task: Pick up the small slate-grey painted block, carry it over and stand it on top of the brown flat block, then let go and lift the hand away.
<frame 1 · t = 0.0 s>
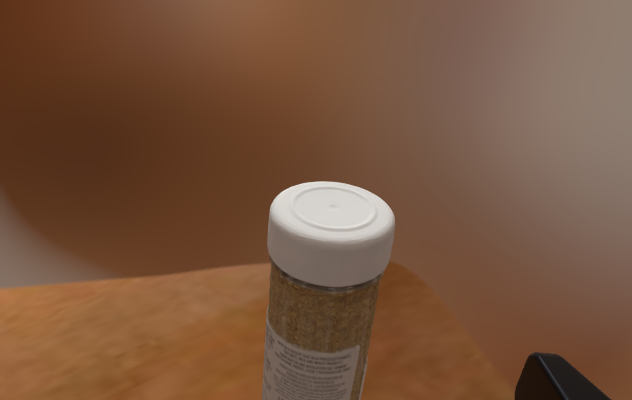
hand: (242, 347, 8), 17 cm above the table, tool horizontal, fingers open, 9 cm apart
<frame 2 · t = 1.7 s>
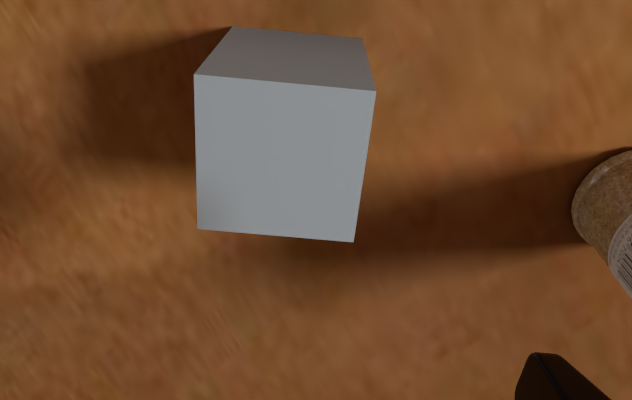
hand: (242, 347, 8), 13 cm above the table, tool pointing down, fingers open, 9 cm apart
sprinkles bottle: (623, 193, 21), on the table
grey block: (293, 95, 19), on the table
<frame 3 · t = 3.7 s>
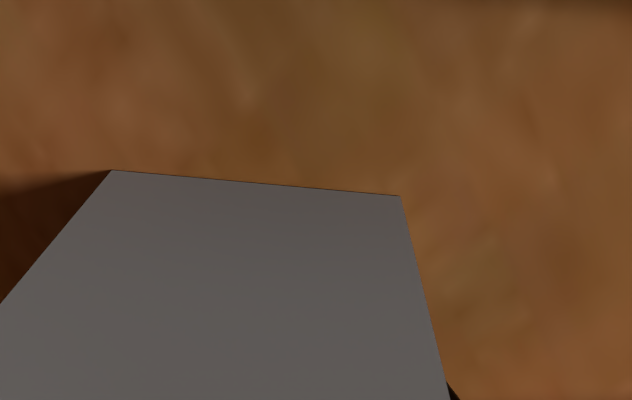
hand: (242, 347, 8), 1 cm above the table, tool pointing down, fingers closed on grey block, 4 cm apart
grey block: (252, 295, 9), on the table, touching gripper
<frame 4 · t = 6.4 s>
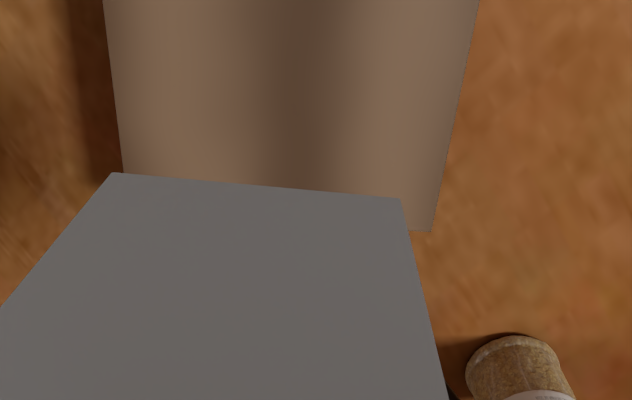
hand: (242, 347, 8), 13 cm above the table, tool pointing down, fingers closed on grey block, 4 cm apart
brown flat block: (291, 63, 19), on the table
sprinkles bottle: (507, 361, 26), on the table
grey block: (252, 297, 9), point 11 cm above the table, touching gripper
when the fingers open (5 cm above the table, at t = 9.0 s): grey block drops 2 cm, resting on brown flat block.
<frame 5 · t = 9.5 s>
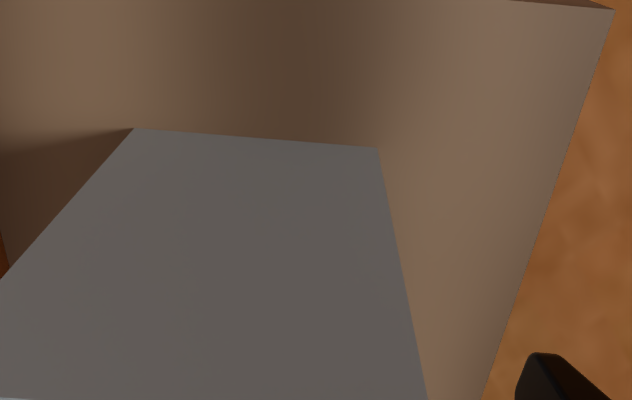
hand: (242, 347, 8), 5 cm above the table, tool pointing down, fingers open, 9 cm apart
brown flat block: (278, 174, 13), on the table, touching grey block
grey block: (253, 238, 11), point 2 cm above the table, touching brown flat block
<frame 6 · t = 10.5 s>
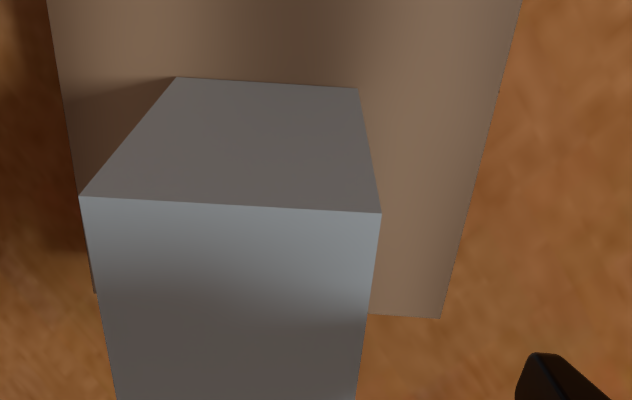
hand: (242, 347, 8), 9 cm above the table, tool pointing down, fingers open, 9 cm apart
brown flat block: (282, 124, 17), on the table
grey block: (266, 164, 14), point 2 cm above the table
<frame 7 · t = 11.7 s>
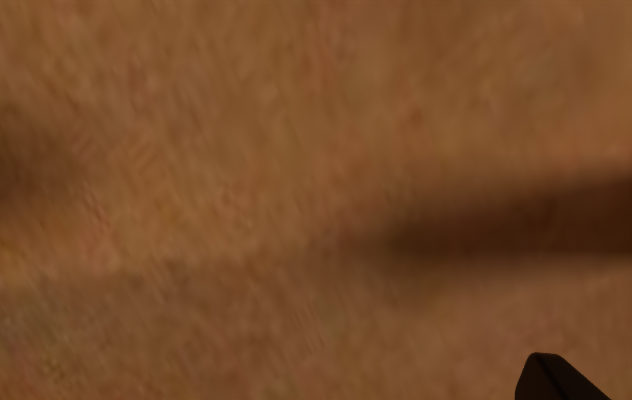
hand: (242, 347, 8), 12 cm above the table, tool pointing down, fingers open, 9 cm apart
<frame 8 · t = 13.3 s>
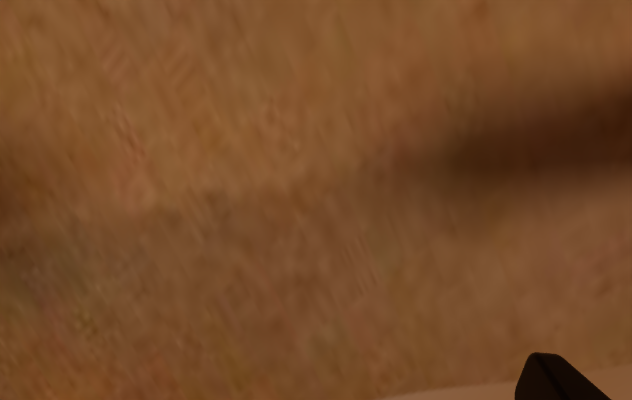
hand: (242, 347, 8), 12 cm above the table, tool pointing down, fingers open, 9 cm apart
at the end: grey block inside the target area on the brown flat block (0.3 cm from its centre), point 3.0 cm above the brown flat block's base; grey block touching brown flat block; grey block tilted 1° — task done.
